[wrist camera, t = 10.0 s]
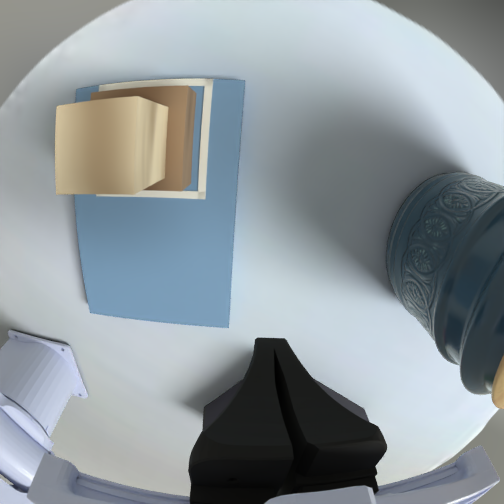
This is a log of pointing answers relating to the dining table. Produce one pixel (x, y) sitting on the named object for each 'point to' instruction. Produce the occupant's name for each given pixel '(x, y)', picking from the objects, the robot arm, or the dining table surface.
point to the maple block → (110, 146)
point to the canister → (455, 273)
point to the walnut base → (169, 129)
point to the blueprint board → (169, 224)
